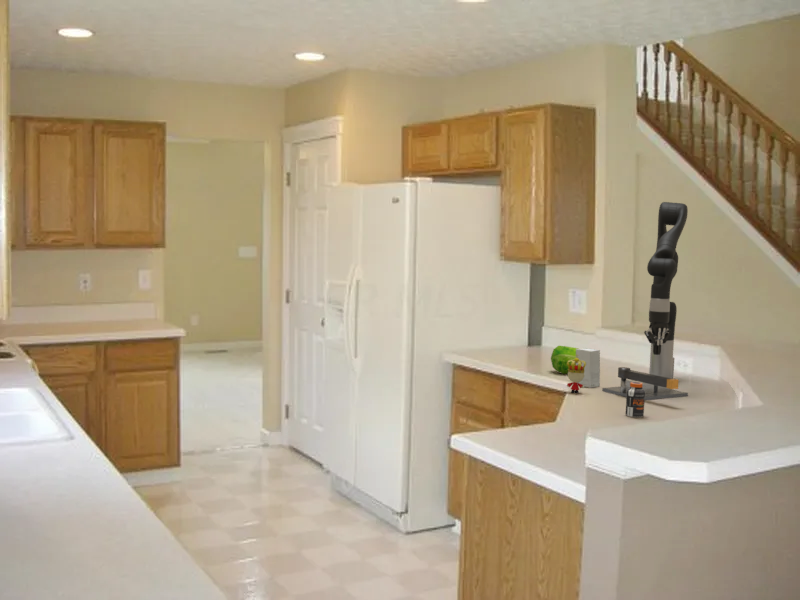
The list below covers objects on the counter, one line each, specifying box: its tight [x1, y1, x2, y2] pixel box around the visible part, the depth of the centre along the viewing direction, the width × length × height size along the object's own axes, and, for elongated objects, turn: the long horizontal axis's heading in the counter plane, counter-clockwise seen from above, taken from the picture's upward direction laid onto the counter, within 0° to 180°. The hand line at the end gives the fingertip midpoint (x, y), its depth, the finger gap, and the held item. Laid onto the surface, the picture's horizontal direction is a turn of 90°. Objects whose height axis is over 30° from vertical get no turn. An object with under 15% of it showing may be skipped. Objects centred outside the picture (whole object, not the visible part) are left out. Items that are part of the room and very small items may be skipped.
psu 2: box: [654, 385, 671, 392], centre depth 344 cm, size 7×9×4 cm
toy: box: [566, 355, 586, 394], centre depth 337 cm, size 7×7×15 cm
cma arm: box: [617, 366, 679, 390], centre depth 325 cm, size 27×4×4 cm, turn 31°
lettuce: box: [550, 345, 580, 375], centre depth 383 cm, size 14×20×12 cm
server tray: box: [601, 378, 689, 401], centre depth 341 cm, size 25×20×7 cm
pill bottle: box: [625, 382, 646, 418], centre depth 298 cm, size 6×6×11 cm
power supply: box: [626, 379, 654, 393], centre depth 339 cm, size 7×9×4 cm
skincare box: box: [576, 347, 601, 388], centre depth 353 cm, size 8×6×15 cm
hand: (656, 354), depth 343 cm, fingers closed
